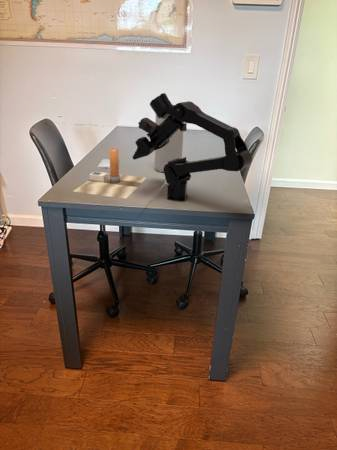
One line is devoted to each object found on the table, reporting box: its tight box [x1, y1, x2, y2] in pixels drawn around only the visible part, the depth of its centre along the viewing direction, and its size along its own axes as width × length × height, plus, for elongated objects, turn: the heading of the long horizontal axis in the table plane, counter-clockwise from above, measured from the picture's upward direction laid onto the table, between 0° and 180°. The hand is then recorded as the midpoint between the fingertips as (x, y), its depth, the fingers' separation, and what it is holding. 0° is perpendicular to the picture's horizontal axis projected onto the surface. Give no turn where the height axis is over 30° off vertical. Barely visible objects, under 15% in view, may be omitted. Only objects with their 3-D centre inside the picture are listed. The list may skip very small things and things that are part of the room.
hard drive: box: [97, 158, 110, 170], centre depth 160 cm, size 2×8×12 cm
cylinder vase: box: [154, 114, 185, 174], centre depth 152 cm, size 12×12×25 cm
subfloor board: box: [73, 171, 147, 200], centre depth 133 cm, size 21×24×2 cm
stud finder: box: [88, 171, 108, 182], centre depth 136 cm, size 6×4×2 cm, turn 76°
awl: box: [108, 148, 121, 183], centre depth 133 cm, size 4×4×13 cm
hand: (139, 155), depth 127 cm, fingers open, 9 cm apart
